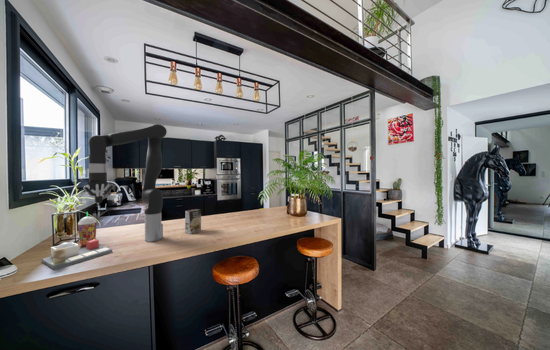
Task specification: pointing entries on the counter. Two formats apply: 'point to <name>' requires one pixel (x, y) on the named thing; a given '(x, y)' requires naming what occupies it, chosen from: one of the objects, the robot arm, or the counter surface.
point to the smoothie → (87, 229)
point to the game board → (78, 254)
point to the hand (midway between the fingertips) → (98, 202)
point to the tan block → (59, 255)
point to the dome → (65, 245)
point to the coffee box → (192, 221)
